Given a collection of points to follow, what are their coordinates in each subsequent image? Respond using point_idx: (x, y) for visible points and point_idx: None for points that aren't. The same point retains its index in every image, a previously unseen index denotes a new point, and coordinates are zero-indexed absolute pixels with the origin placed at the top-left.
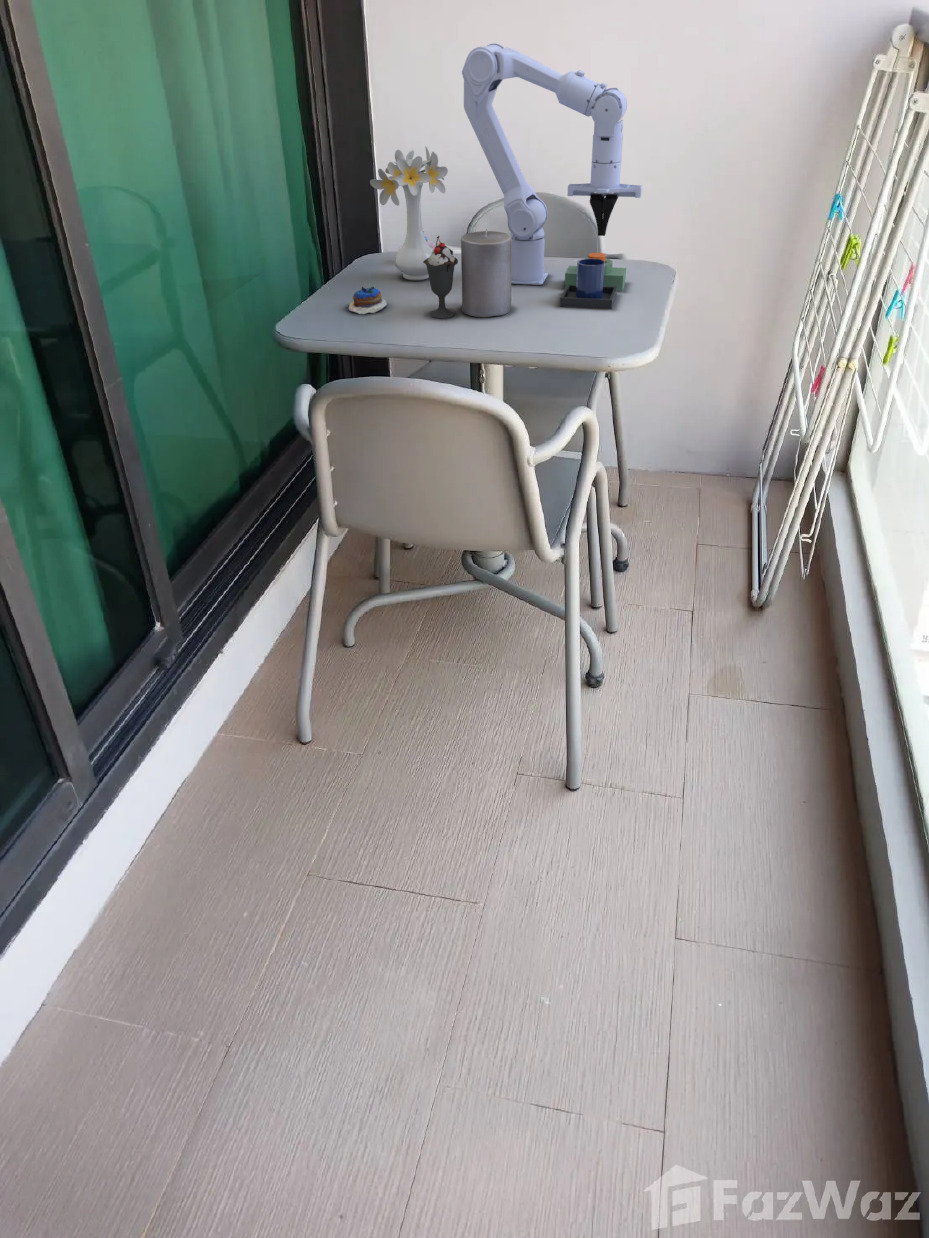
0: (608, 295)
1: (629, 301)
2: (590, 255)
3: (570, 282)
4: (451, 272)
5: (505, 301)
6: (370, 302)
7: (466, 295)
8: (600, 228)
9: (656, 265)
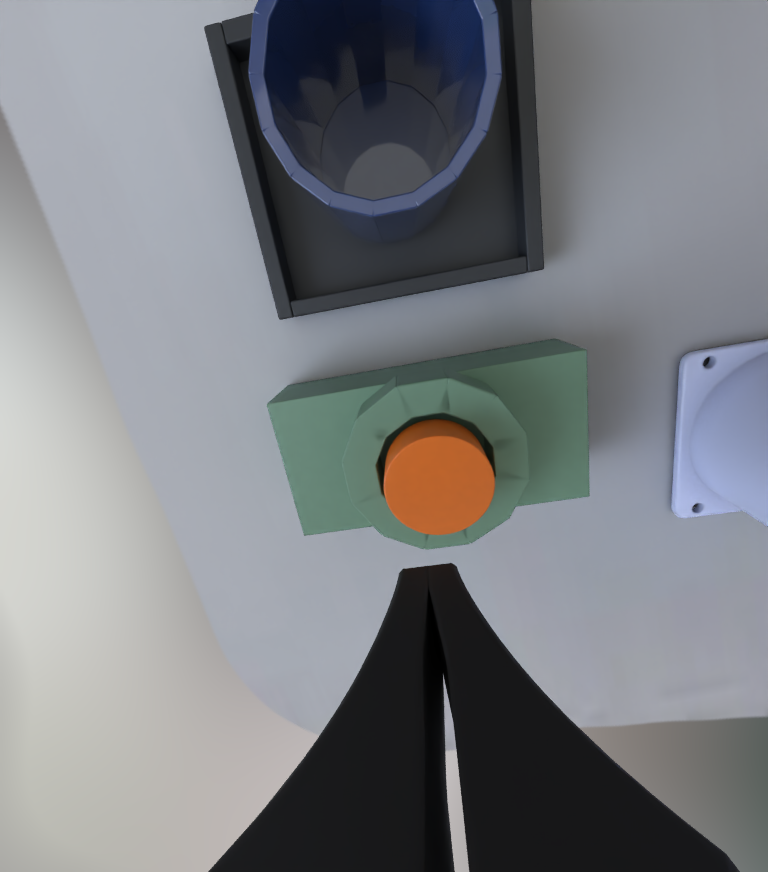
0: (307, 256)
1: (203, 250)
2: (475, 463)
3: (537, 347)
4: None
5: None
6: None
7: None
8: (439, 598)
9: (290, 721)
